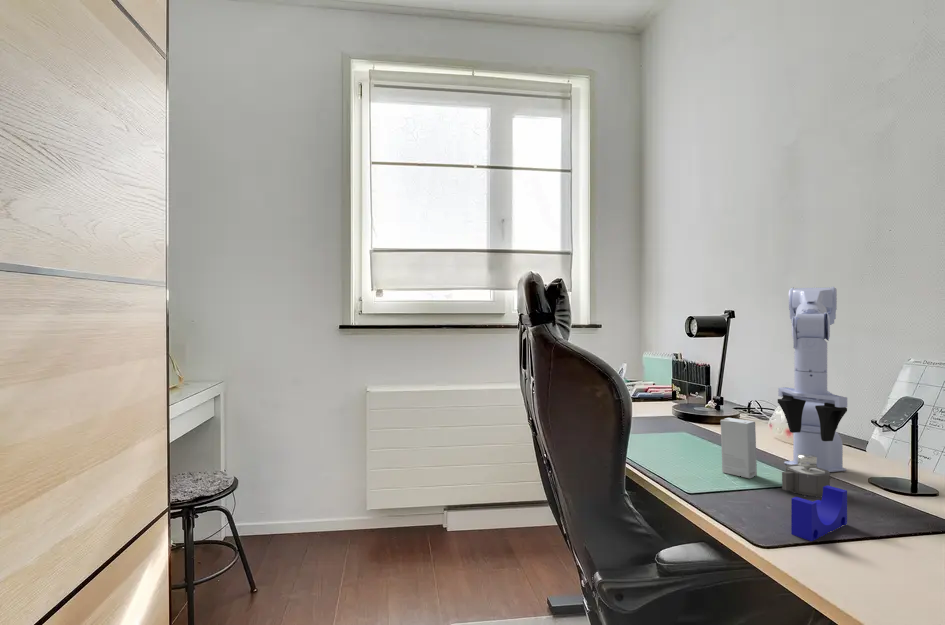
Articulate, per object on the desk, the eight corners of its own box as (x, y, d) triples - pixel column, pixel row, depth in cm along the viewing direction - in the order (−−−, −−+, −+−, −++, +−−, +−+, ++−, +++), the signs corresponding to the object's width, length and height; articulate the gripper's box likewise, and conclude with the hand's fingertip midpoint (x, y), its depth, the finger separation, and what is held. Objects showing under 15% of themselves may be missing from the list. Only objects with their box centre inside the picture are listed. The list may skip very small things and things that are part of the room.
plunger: (806, 481, 104) (806, 453, 104) (820, 486, 101) (820, 457, 101) (793, 482, 103) (793, 454, 103) (807, 487, 100) (807, 458, 100)
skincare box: (757, 475, 111) (757, 421, 111) (749, 479, 109) (749, 423, 109) (729, 468, 116) (728, 416, 116) (720, 472, 113) (720, 419, 113)
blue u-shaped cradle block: (817, 516, 89) (817, 482, 89) (847, 525, 86) (847, 490, 86) (781, 531, 83) (781, 495, 83) (811, 542, 79) (811, 504, 79)
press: (806, 483, 106) (806, 463, 106) (838, 495, 99) (838, 474, 99) (769, 486, 104) (769, 466, 104) (799, 499, 97) (799, 477, 97)
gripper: (766, 367, 111) (766, 429, 111) (826, 375, 97) (826, 446, 96) (793, 367, 112) (793, 428, 112) (856, 374, 98) (856, 444, 98)
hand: (810, 436), depth 104 cm, fingers open, 7 cm apart
